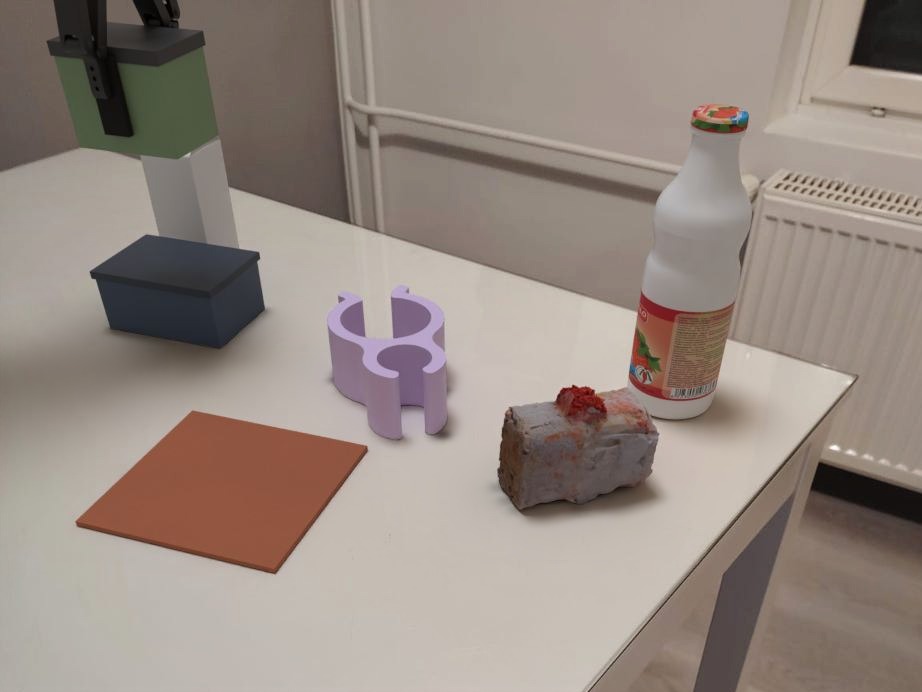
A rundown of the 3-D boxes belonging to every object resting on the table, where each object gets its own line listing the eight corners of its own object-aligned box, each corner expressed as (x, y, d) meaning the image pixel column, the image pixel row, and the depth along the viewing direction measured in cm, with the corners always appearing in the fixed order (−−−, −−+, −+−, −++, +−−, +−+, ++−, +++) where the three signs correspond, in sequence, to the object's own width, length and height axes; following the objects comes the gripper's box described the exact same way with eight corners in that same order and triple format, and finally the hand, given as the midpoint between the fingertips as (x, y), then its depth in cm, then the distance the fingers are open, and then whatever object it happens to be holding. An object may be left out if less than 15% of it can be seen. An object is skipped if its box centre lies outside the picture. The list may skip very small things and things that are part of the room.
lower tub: (106, 329, 108) (88, 271, 103) (159, 289, 115) (146, 233, 110) (221, 350, 104) (209, 291, 99) (268, 308, 112) (259, 251, 107)
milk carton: (196, 252, 124) (163, 96, 110) (242, 259, 122) (214, 102, 108) (167, 272, 119) (129, 112, 105) (214, 281, 117) (181, 119, 104)
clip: (473, 428, 93) (474, 367, 88) (355, 445, 91) (349, 383, 86) (428, 339, 107) (426, 282, 102) (323, 352, 104) (316, 294, 99)
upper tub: (76, 148, 88) (45, 40, 82) (124, 123, 94) (99, 21, 88) (178, 160, 86) (155, 51, 80) (221, 134, 92) (203, 30, 85)
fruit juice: (701, 429, 94) (766, 134, 74) (615, 410, 96) (654, 119, 76) (720, 387, 100) (784, 103, 80) (638, 370, 102) (680, 90, 82)
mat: (76, 525, 81) (74, 521, 81) (193, 414, 95) (192, 410, 94) (275, 573, 77) (274, 569, 77) (368, 449, 90) (367, 445, 90)
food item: (617, 449, 91) (630, 359, 84) (655, 494, 86) (672, 402, 79) (492, 475, 87) (494, 384, 80) (522, 523, 82) (528, 430, 75)
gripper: (29, -182, 65) (117, 159, 81) (183, -196, 79) (231, 96, 95) (-57, -185, 66) (46, 150, 82) (109, -199, 80) (169, 89, 97)
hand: (145, 120), depth 89 cm, fingers closed on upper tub, 8 cm apart
